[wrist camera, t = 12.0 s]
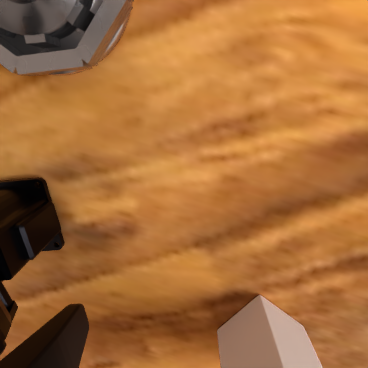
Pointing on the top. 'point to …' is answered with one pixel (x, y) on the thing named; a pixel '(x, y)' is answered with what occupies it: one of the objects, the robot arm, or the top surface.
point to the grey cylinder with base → (44, 20)
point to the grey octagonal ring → (70, 44)
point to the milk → (265, 339)
